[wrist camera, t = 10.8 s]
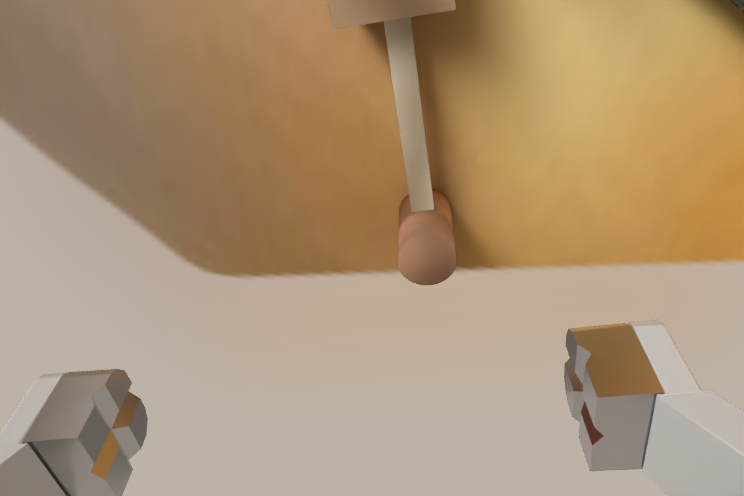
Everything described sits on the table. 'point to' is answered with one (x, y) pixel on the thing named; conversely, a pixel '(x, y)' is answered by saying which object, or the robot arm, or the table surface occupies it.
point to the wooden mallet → (410, 138)
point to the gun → (739, 4)
